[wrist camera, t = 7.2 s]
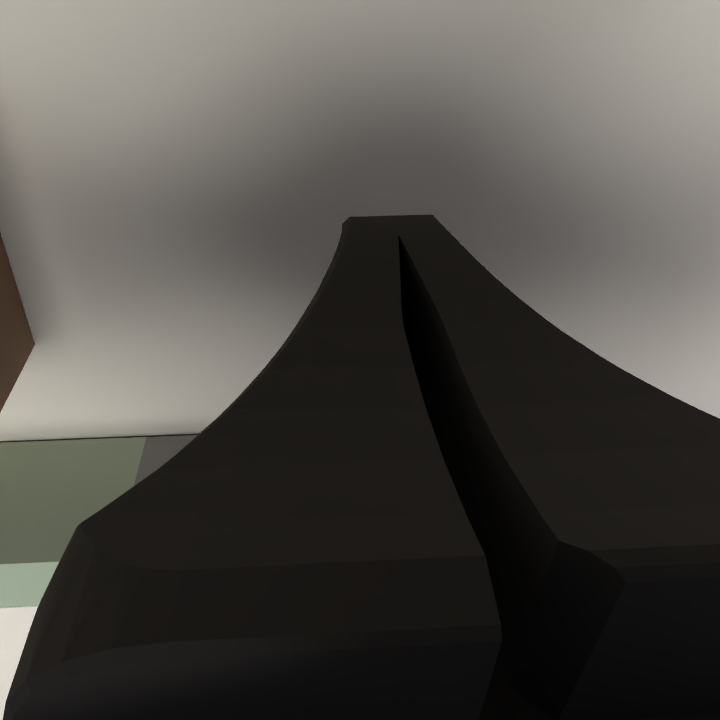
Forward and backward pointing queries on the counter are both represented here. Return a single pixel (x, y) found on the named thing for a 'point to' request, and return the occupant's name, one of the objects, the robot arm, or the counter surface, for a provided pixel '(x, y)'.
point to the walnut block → (11, 329)
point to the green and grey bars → (62, 499)
